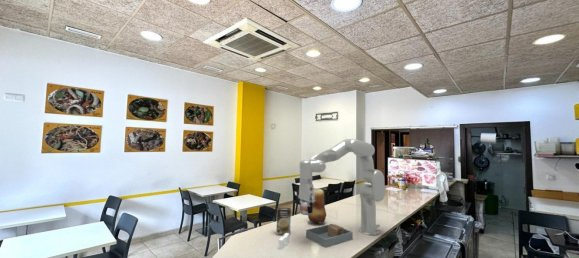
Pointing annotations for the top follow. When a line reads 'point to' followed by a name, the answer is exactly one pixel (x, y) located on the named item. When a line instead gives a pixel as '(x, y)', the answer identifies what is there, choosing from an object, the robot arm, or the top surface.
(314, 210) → the butternut squash
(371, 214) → the robot arm
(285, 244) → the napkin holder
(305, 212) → the can
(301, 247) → the top surface
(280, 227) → the coffee box
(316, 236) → the crate
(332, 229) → the brown block
